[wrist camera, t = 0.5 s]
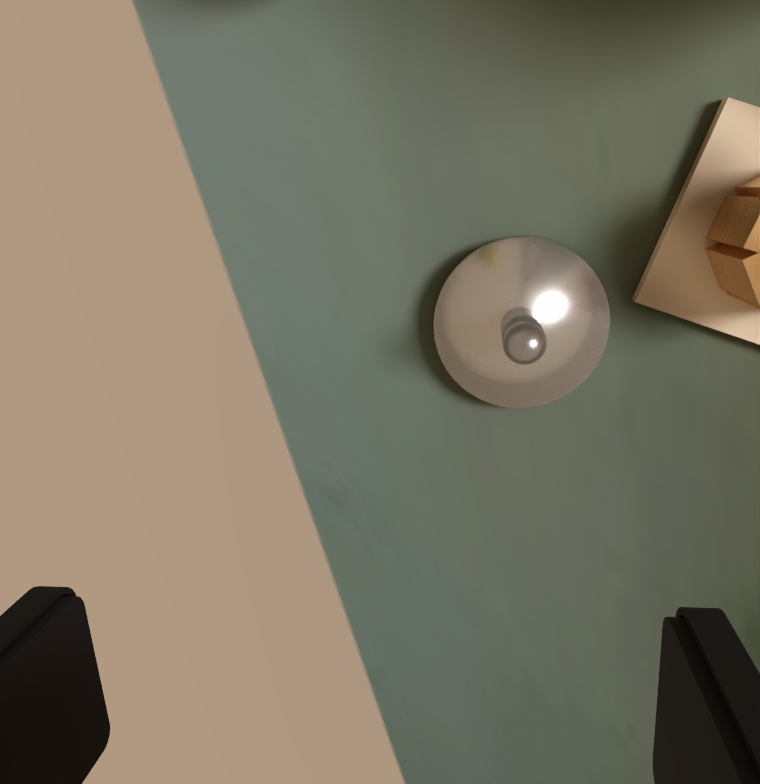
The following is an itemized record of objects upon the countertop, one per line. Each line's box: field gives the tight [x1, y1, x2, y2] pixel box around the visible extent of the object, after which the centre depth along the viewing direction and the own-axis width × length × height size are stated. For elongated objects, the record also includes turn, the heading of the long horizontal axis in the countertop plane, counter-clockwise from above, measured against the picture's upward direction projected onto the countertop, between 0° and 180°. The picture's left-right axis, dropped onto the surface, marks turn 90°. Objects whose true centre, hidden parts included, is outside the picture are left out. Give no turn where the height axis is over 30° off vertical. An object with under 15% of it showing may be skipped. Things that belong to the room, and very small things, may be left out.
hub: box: [434, 236, 610, 408], centre depth 33 cm, size 9×9×6 cm
